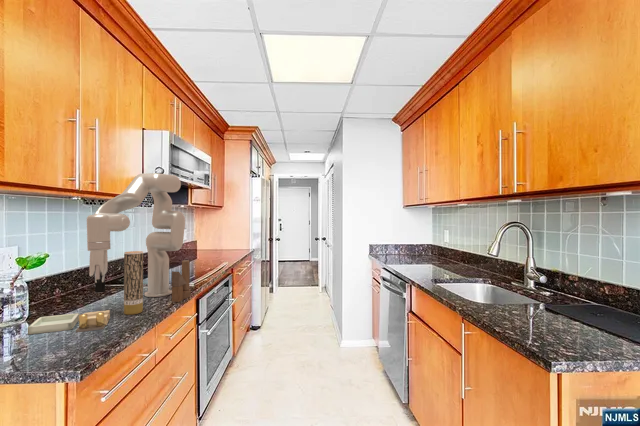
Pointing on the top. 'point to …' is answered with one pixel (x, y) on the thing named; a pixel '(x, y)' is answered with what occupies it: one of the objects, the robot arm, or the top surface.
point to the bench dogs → (98, 326)
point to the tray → (53, 323)
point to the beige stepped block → (92, 317)
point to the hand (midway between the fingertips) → (100, 292)
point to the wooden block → (181, 283)
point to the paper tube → (133, 282)
